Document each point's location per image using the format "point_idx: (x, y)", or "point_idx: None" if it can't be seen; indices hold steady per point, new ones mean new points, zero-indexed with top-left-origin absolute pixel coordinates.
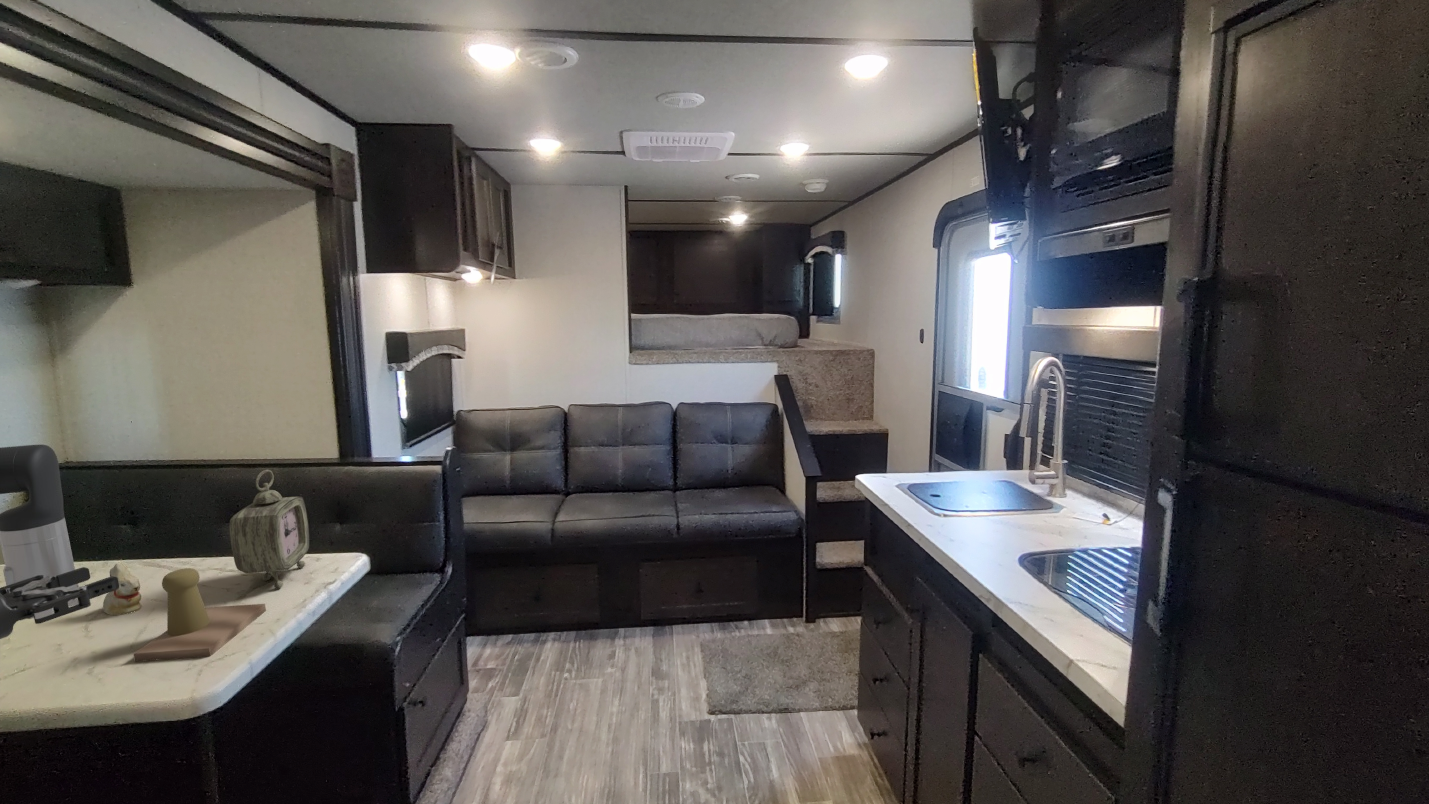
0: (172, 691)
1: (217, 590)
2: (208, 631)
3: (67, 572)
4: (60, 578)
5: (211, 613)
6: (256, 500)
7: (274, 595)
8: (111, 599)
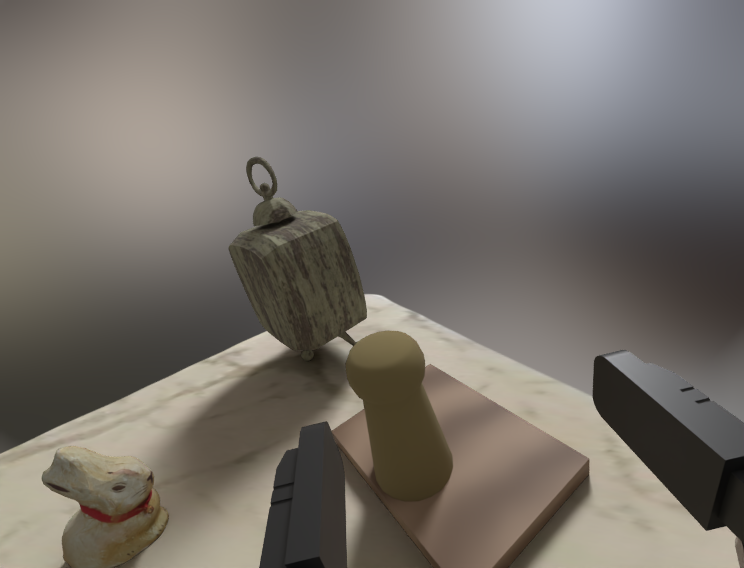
0: None
1: (260, 407)
2: (479, 442)
3: (300, 496)
4: (325, 556)
5: None
6: (271, 216)
7: None
8: (100, 536)
